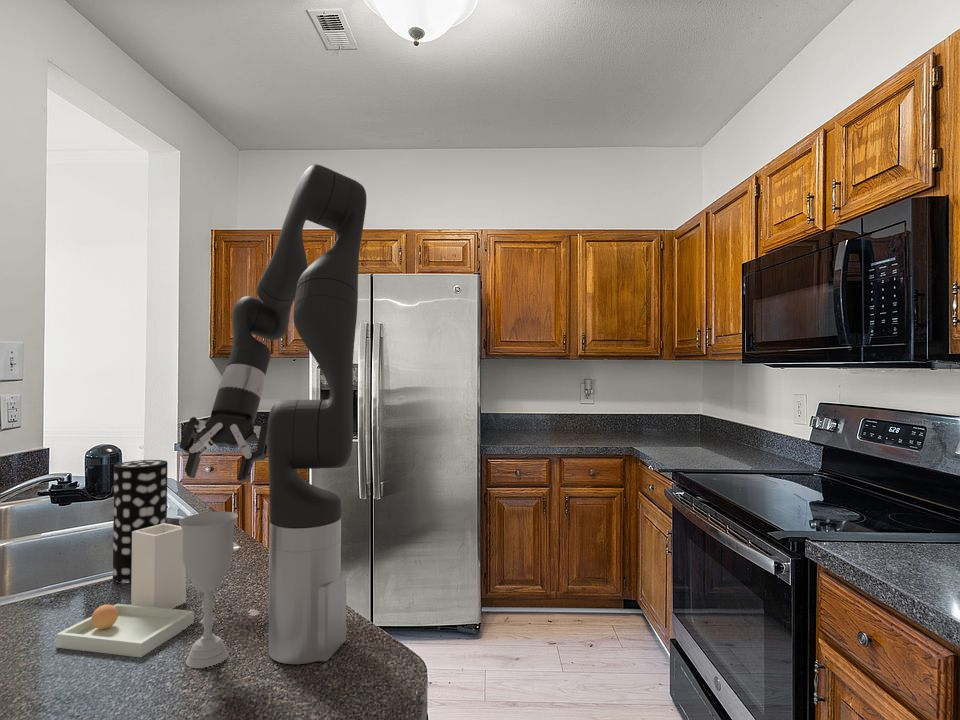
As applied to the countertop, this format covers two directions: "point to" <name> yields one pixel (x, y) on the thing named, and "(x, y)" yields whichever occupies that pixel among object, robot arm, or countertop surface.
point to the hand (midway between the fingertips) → (215, 479)
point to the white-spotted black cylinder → (136, 507)
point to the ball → (104, 616)
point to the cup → (158, 567)
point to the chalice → (207, 574)
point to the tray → (127, 631)
